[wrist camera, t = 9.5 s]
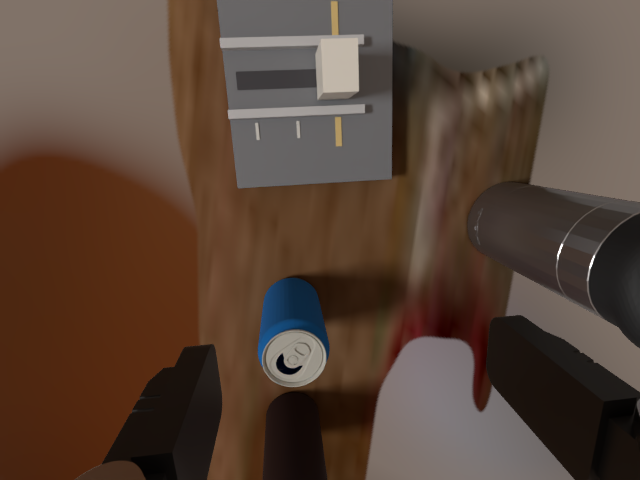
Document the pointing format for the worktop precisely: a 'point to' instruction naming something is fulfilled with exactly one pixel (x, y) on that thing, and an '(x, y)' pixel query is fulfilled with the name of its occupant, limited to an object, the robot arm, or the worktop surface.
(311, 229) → the worktop surface
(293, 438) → the bottle
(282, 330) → the beverage can
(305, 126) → the fader console
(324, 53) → the fader tab
